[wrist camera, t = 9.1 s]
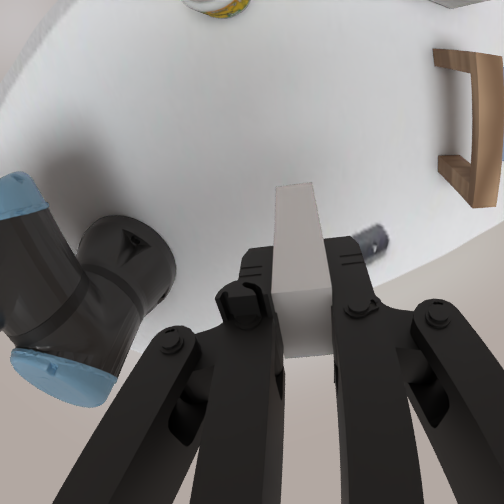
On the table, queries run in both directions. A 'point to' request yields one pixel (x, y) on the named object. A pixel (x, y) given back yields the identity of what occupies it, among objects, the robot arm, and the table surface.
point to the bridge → (478, 128)
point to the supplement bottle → (218, 7)
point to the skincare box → (457, 3)
